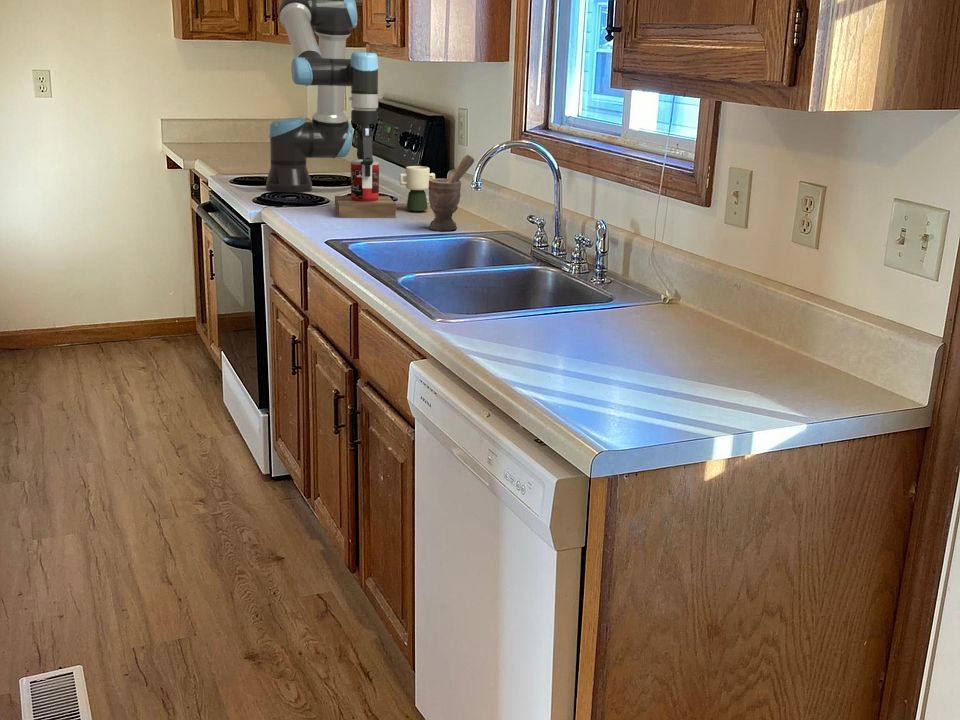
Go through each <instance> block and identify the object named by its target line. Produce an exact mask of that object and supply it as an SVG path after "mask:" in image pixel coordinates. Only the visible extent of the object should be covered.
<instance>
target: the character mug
mask: <svg viewBox="0 0 960 720" xmlns="http://www.w3.org/2000/svg"><path fill="white" fill-rule="evenodd" d="M430 177H431V179H436V174H435V173H434V172H431V173H430V167H428V166H422V165H420V166H419V165H411V166H409V165H408V166H405V172H404V173H400V174H399V185H400V186H405V188H406V189H407V190H409V192H408V195H407V201H406V210H411V212H412V211H413V212H414V211H417V212H423V211H427V210H428V199H427V193H426V192H425V191H427V190H429V179H430ZM404 178H405V181H404Z"/></svg>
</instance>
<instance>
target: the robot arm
mask: <svg viewBox="0 0 960 720" xmlns="http://www.w3.org/2000/svg"><path fill="white" fill-rule="evenodd" d="M278 18H279V22H280V24H281V27H282V28H283V29H285V30H286V34H287V37H288V40H289V43H290V46H291V50H292V53H293V55H294V58H293V59H292V60H291V69H290V70H291V71H290V72H291V73H290V74H291V79H292V82H293V83H294V85H300V86H305V87H308V86H309V87H310V86H317V96H316V97H317V100H316V101H317V102H316V103H317V104H316V106H317V107H316V112H314V114H313V115H311V116H312V119H311V120H312V121H307V120H306V118H305V117H288V118H281V119H276V120H273V121H272V122H271V123H270V124H269V135H268V136H269V142H270V143H269V144H270V147H269V148H270V150H269V151H270V153H269V154H270V168H269V172H268V175H267V178H266V182H265V190H267V191H269V192H275V193H276V192H277V193H304V192H305V193H306V192H311V191H312V190H313V182H312V180H311V176H310V173H309V170H308V168H307V167H308V166H307V158H308V159H309V158H312V159H313V158H314V159H315V158H316V159H317V158H320V159H322V158H323V159H324V158H327V159H329V158H330V159H336V158H345V157H347V156H348V155H349V153H350V151H351V149H352V143H353V137H354V136H353V135H354V134H353V131H354V130H353V125H352V124H355V125H357V130H356V134H357V135H356V136H357V137H356V138H357V142H356V144H357V145H356V158H357V160H363V161H361V163H360V165H362V188H372V163H373V161H374V158H373V130H372V128H370V127H371V126H370V125H376V124H378V123H379V112H378V111H377V109H378V108H379V94H378V93H379V89H378V88H379V68H380V67H379V61H378V60H379V59H378V54H376V53H375V52H359V51H358V52H352V53H351V55H350V58H346V52H347V51H346V50H347V49H346V48H347V45H346V44H347V39H348V38H349V37H350V36H351V34H352V29H355V28H356V27H357V25H358V10H357V2H356V0H281V1H280V4H279V7H278ZM316 36H317V37H318V42H317V39H316ZM345 87H350V88H351V89H350V93H351V95H350V96H349V98H348V100H349V101H351V103H350V104H351V105H350V106H351V108H353V109H351V111H350V113H351V114H350V117H351V119H350V120H351V121H350V122H349V120H348V119H349V118H348V117H347V115H346V114H345V113H344V108H345V107H344V106H345V105H344V104H345V101H344V99H345Z"/></svg>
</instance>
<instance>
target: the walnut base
mask: <svg viewBox="0 0 960 720" xmlns="http://www.w3.org/2000/svg"><path fill="white" fill-rule="evenodd" d="M396 208H397V204H396V203H395V201H394V200H393V199H392V198H391V197H390V195H379V198H378V200H377V201H371V202H362V201H354V200H352V198H351V195H334V210H335V212H336V215H337V217H338V218H339V219H370V218H371V219H396V216H397V214H396V211H397V210H396Z"/></svg>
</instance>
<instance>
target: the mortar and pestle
mask: <svg viewBox="0 0 960 720" xmlns="http://www.w3.org/2000/svg"><path fill="white" fill-rule="evenodd" d="M474 162H475V159H474V157H473V156H471V155H469V154H466V155H465V156H464V157H463V158H462V160H461V161H460V163H459V164H458V167H457V168H456V170H455V172H454V173H453V175H452V176H451V178H435V179H432V178H429V189H428V202H429V204H430V206H429V207H430V210H432V212H433V214H434V216H435V218H434V219H433V220H432V221H430V224H429V226H428V227H429V228H430V230H433V231H438V232H439V231H440V232H441V231H443V232H445V231H446V232H447V231H448V232H449V231H454V230H457V224H456V222H455V221H454V220H453V214H454V213H456V212H457V210H458V205H459V203H460V200H461V190H462V189H461V188H462V185H461V184H462V181H461V178H463V176H464V174H465V173H466V172H467V171H468V170H469V169H470V168H471V166H472V165H473V164H474Z"/></svg>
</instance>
